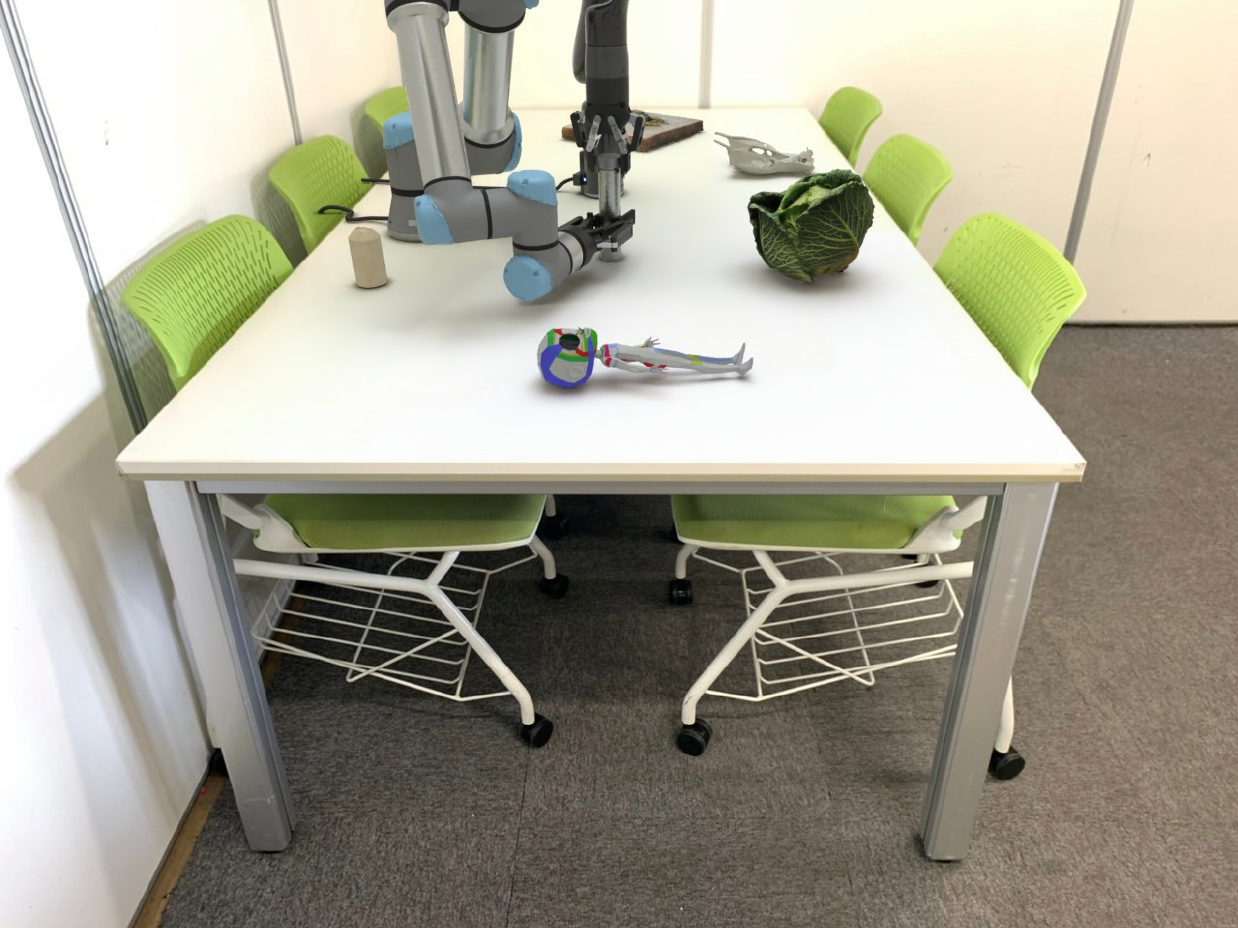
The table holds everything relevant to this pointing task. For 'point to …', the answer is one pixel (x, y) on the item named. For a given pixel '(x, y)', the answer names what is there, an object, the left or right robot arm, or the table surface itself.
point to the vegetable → (812, 224)
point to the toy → (618, 358)
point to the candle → (367, 257)
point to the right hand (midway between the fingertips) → (609, 172)
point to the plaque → (655, 129)
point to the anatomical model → (764, 157)
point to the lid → (608, 160)
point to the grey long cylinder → (609, 205)
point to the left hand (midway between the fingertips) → (622, 214)
